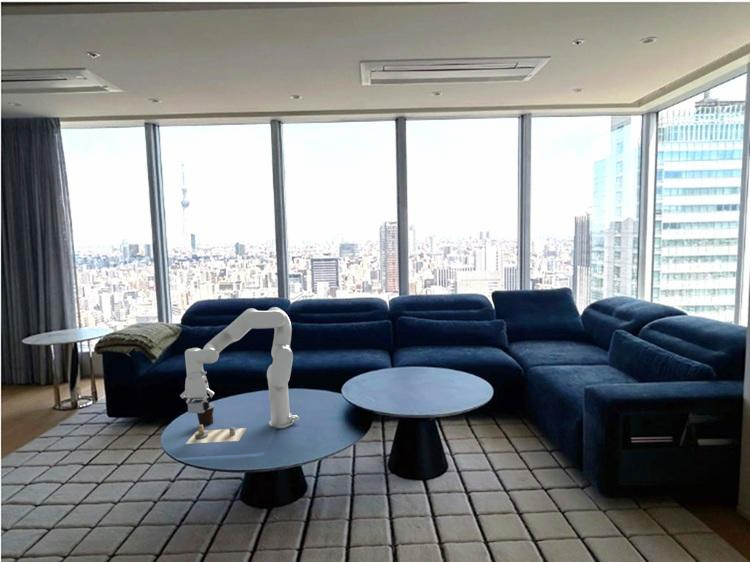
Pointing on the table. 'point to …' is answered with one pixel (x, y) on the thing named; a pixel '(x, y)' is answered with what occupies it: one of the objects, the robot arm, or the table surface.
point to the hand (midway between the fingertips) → (198, 409)
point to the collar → (196, 406)
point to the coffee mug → (206, 416)
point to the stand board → (216, 435)
